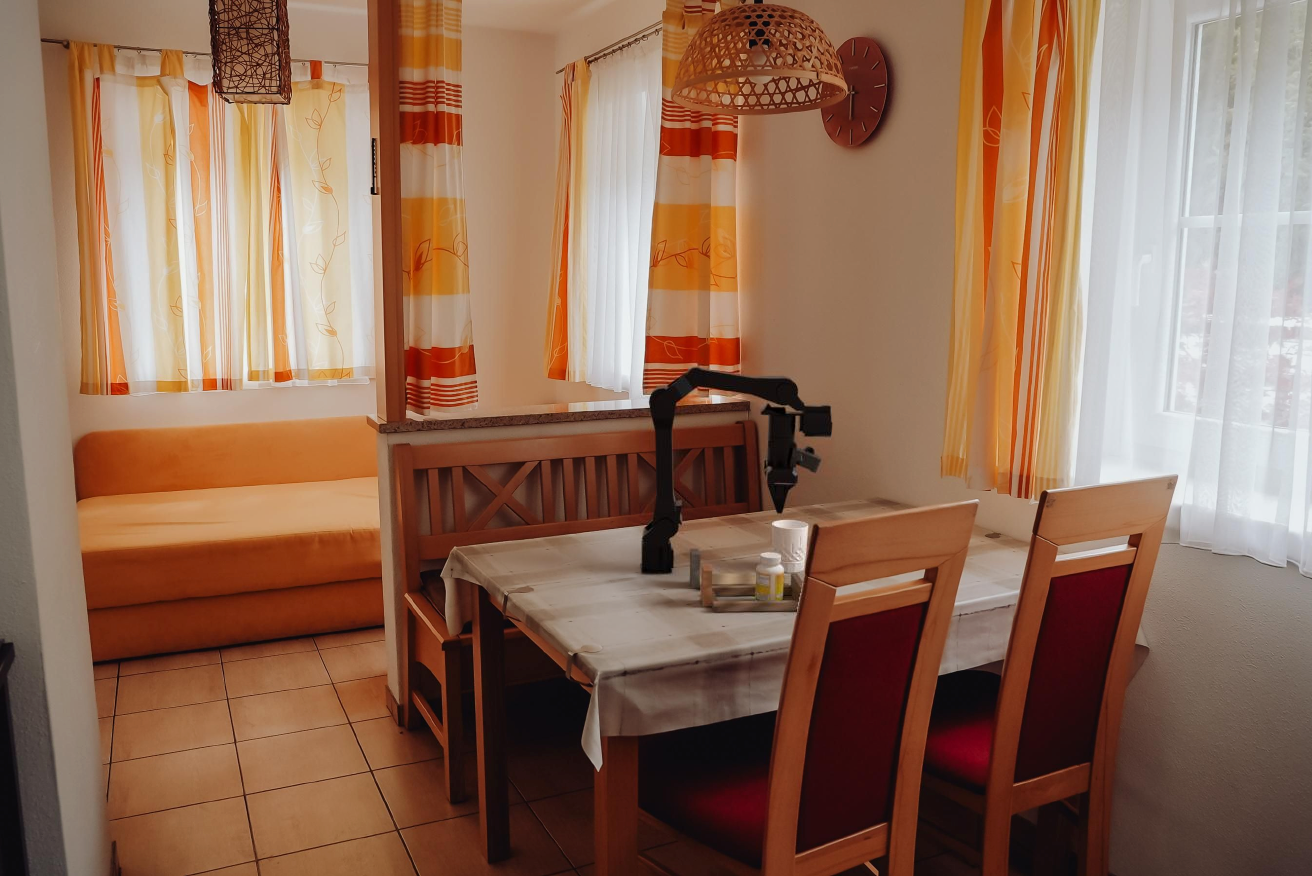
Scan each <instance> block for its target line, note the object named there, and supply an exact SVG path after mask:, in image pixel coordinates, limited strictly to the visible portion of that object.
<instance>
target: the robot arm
mask: <svg viewBox="0 0 1312 876" xmlns="http://www.w3.org/2000/svg"><path fill="white" fill-rule="evenodd" d="M699 387H700V388H707V389H713V390H721V391H726V392H733V393H738V394H745V395H750V396H751V395H752V396H754V397H757V398H759V399H762V400H764V401H766V404H764V406H763V407H762V408H760V409H759V414H760V415H762V416H768V419H767V420H768V421H767V424H768V425H767V439H766V445H767V446H766V447H767V449H766V456H765V457H764V458H763V466H762V467H763V472H764V475H765V476H764V477H765V478H766V479H765V480H766V484H767V487H768V491H769V494H770V496H771V500H772V503H773V505H774V506H773V507H774V508H775V512H776V514H779V515H780V514H783V511H784V507H785V505H786V501H787V497H788V494H789V491H790V490H792V489H793V488H795V487H796V486H797V484H798V479H799V477H798V476H799V474H798V471H797V470H796V469H795V468H797V466H799V467H801V468H804V469H807V470H809V472H812V473H813V474H817V471H818V469H819V467H820V465H821V462H822V460H823V459H822V457H821V456H819V455H818V454H815V448H814V447H812V446H810V445H807V446H805V447H804V448H799V447H798V445H797V442H796V418H797V432H798V433H802V437H805V438H831V437H832V432H833V422H832V412H831V410H832V409H831V408H832V407H831V405H829V404H821V405H820V404H819V405H814V404H813V405H812V404H811V405H810V404H809V405H808V404H805V402H804V400H802V399H801V398H800V397H799V388H798V384H796V383H795V381H794V380H793V379H792V378H791V377H789V376H787V375H764V376H762V375H761V376H753V375H752V376H751V375H745V374H739V373H732V372H726V371H719V370H714V369H709V368H702V367H700V366H691V367H690V368H689V369H688V370H687V371H685V373H683V374H682V375H680V376H678V377H677V378H676V379H674V380H672V381H671V382H670V383H669V384H667V385H658V386H657V387H655V388H654V389H653V390H652V391H651V393H650V396H649V399H648V405H649V412H650V415H651V419H652V424H653V428H654V434H655V435H654V436H655V437H654V439H655V441H654V443H655V478H656V479H655V480H656V482H655V483H656V484H655V485H656V498H655V503H654V509H653V516H652V520H651V521H649V523H648V524H647V525H646V526H644V528H643V531H642V536H641V541H640V543H641V544H640V545H641V550H640V551H641V553H640V554H641V558H640V562H641V563H640V565H639V566H640V571H641V574H645V575H648V574H651V575H652V574H657V575H659V574H672V573H673V569H674V568H675V566H674V565H675V563H674V562H675V561H674V560H675V559H674V558H675V551H674V549H675V548H674V547H673V546H672V542H671V539H672V538H674V537H675V536H676V535H677V534H678V531H679V527H680V526H682V525H683V515H682V513H681V512H682V505H683V504H682V503H683V501H682V499H679V500H676V497H675V491H674V460H673V459H674V458H673V457H674V453H673V452H674V451H673V450H674V447H673V445H674V444H673V427H674V421H675V415H676V414H675V413H676V409H677V403H678V402H680V401H681V400H683V399H684V398H685V397H686V396H688V395H690V393H691V392H693V391H694V390H696V389H697V388H699ZM769 402H771V403H773V404H776V405H778V406H772V405H771V404H770V403H769ZM785 406H789V407H790V408H791V409H793V410H794V411H788V410H786V409H787V408H786V407H785Z"/></svg>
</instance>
